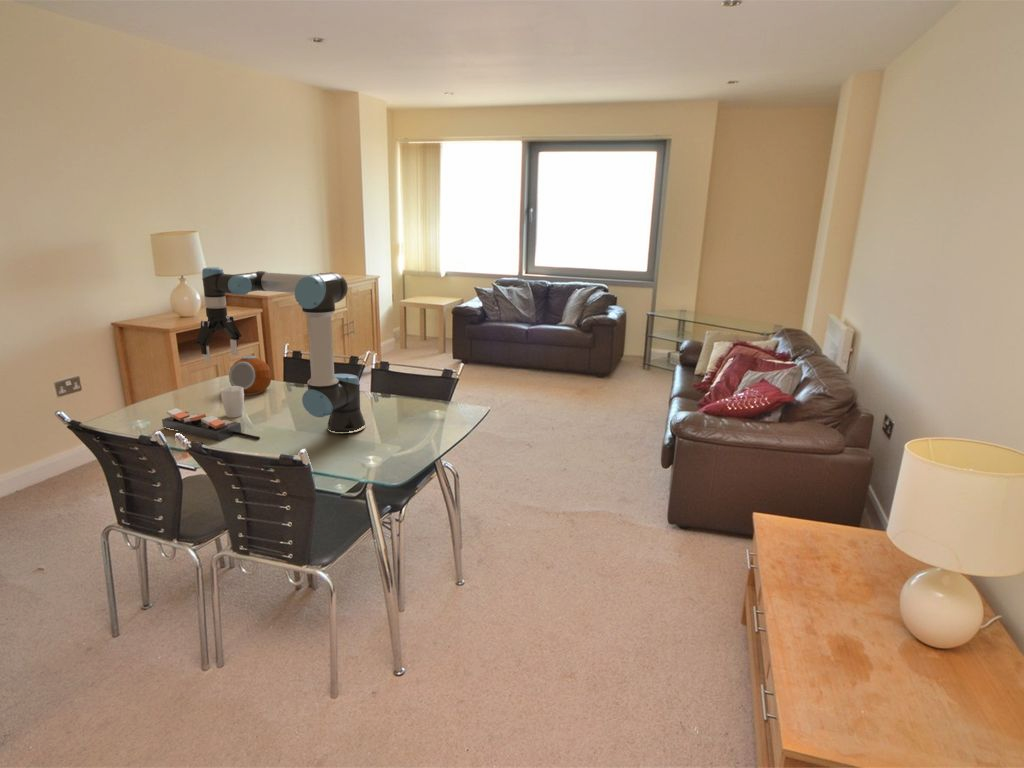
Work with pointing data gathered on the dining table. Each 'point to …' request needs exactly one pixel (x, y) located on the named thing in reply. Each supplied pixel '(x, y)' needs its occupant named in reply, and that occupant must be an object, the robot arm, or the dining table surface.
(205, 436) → the power strip
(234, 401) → the cup
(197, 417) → the rocker
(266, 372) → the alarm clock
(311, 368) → the robot arm
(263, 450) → the dining table surface
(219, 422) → the rocker
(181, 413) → the rocker
